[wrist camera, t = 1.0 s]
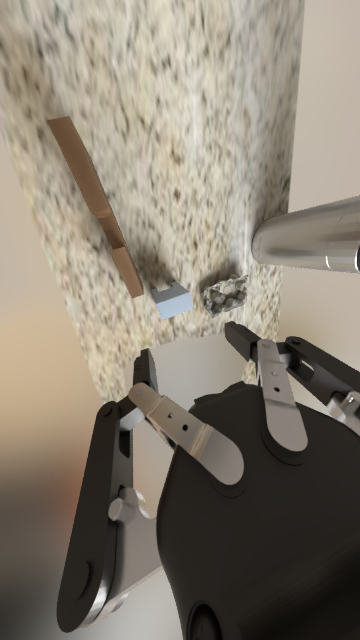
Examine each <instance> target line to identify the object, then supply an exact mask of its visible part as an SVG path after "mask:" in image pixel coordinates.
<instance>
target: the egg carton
mask: <svg viewBox="0 0 360 640" xmlns="http://www.w3.org/2000/svg"><path fill="white" fill-rule="evenodd" d="M247 277H248V275H245V276H244V277H239V276H238V275H236V274H232V275H230V276H229V279H228V280H227V281H224V280H219V281H218V282H217V284H215V285H213V286H211V287H210V286H205V287H204V291H203V292H202V293H201V296H202V298H204V299H205V300H207V302H206V305H205V306H204V307H205V309H206V310H207V311H208V312H209V313H210V315H211V316H212V318H214V317H215V316H217V315H218V314H222V313H223V312H228V311H229V310H232V309H234V308H236V307H240V306H242V305H244V303H245V302H246V300H247V294H246V291H247V289H246V287H245V283H247ZM236 281H237V282H236ZM235 282H236V284H235V287H236V289H238V290H240V293H239V294H238V295H237V299H233V298H228V299H227V300H226V303H225V304H224V305H222V304H220V303H223V302H224V300H225V295H224V294H226V295H227V294H230V292H231V290H232V289H231V287H230V286H226V287H225V288H224V290H223V293H224V294H222V293H220V292H217V291H215V292H213V293H212V295H211V299H212V300H214V301H215V302H217V304H216V305H215V306H214V309H213V310H210V309H211V305H212V301H210V300H209V299H207V298H206V297H205V295H207V294H208V292H209V291H208V289H210V288H212V289H213V290H220V286H221V284H222V283H226V284H229V285H231V284H234V283H235Z"/></svg>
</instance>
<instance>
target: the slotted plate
mask: <svg viewBox="0 0 360 640" xmlns="http://www.w3.org/2000/svg"><path fill="white" fill-rule="evenodd" d="M47 121H48V123H49V125H50V127H51V130H52V132H53V134H54V136H55V138H56V140H57V142H58V144H59V146H60V148H61V151H62V153H63V155H64V157H65V159H66V161H67V163H68V165H69V167H70V169H71V171H72V174H73V176H74V178H75V180H76V182H77V184H78V186H79V188H80V190H81V192H82V195H83V197H84V199H85V201H86V203H87V205H88V207H89V209H90V211H91V213H92V214H94V215H95V216H96V217H97V218H98V219H99V221H100V223H101V225H102V227H103V229H104V232H105V234H106V236H107V238H108V240H109V242H110V245H111V247H112V249H113V250H112V251H110V253H111V255H112V257H113V260H114V262H115V264H116V266H117V268H118V270H119V272H120V274H121V276H122V278H123V281H124V283H125V285H126V287H127V289H128V291H129V293H130V295H131V297H132V298H135V297H137V296H140V295H143V294H144V290H143V284H142V282H141V279H140V277H139V274H138V272H137V270H136V267H135V265H134V262H133V260H132V257H131V255H130V253H129V250H128V248H127V245H126V243H125V240H124V238H123V236H122V233H121V231H120V228H119V226H118V223H117V221H116V218H115V216H114V214H113V211H112V209H111V206H110V204H109V201H108V199H107V197H106V194H105V192H104V189H103V187H102V184H101V182H100V180H99V177H98V175H97V172H96V170H95V167H94V165H93V162H92V160H91V158H90V156H89V154H88V152H87V150H86V148H85V146H84V144H83V142H82V140H81V138H80V136H79V134H78V132H77V130H76V128H75V126H74V124H73V123H72V121H71V119H70V117H69V116H68V117H63V118H58V119H52V120H47Z"/></svg>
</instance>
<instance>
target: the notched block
mask: <svg viewBox="0 0 360 640" xmlns="http://www.w3.org/2000/svg"><path fill="white" fill-rule="evenodd" d="M171 286H172V288H169V289H166V290H164V291H161V292H158V290H157V288H155V289H152V290H151V291H152V294H153V297H154V300H155V303H156V306H157V308H158V311H159V313H160V316H161V318H162V320H164V319H167V318H170V317H172V316H175V315H178V314H180V313H183V312H186V311H188V310H191V309H193V304H192V300H191V296H190V292H189V291H188V290H186V289H185V288H184V287H183V286H181V285H180V284H179V283H177V282H176V281H175V282H172V283H171Z"/></svg>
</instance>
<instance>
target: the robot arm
mask: <svg viewBox="0 0 360 640" xmlns="http://www.w3.org/2000/svg"><path fill="white" fill-rule="evenodd" d="M252 253H253V257H254V258H255V260H256V261H257V262H259V263H261V264H269V265H278V266H288V267H298V268H308V269H318V270H328V271H339V272H350V273H359V274H360V195H359V196H355V197H352V198H347V199H344V200H340V201H336V202H332V203H328V204H324V205H320V206H316V207H312V208H308V209H304V210H300V211H296V212H292V213H287V214H284V215H280V216H276V217H272V218H269V219H267V220H266V221H264V222H263V223H262V224H261V226H260V227H259V228H258V230H257V231H256V233H255V236H254V239H253V243H252ZM225 337H226V339H227V341H228V342H229V343H230V344H231V345H232V346H233V347H234V348H235V349H236V350H237V351H238V352H239V353H240V354H241V355H242V356H243V357H244V358H245V359H246V361H247V362H248V363H250V362H253V361H254V362H255V377H256V385H252V384H245V383H244V382H243V381H240V382H238V383H235V384H233V385H231V386H229V387H228V388H227V389H225V390H224V391H223V392H222V393H218V394H209V395H205V396H202V397H200V398H197V399H194V402H195V404H194V405H193V406H192V407H191V408H190V409H189V411H186V410H185V409H184V408H182V407H181V406H179V405H178V404H176V403H175V402H174V401H172V400H171V399H170V398H168V397H167V396H165V395H163V396H161V395H160V394H159V393H158V385H157V378H156V369H155V363H154V360H153V357H152V355H151V353H150V350H149V348H147V349H144V350H141V356H140V357H137V358H136V360H135V362H134V375H133V387H132V388H131V389H130V391H129V394H128V395H127V396H126V397H125V398H123V399H122V400H120V401H119V402H117V403H116V402H115V401H110V402H107V403H106V404H104V405H103V406H102V407H101V408H100V410H99V411H98V413H97V416H96V421H95V425H94V430H93V435H92V439H91V444H90V449H89V454H88V458H87V463H86V468H85V472H84V477H83V482H82V487H81V492H80V496H79V501H78V505H77V510H76V515H75V519H74V524H73V529H72V534H71V538H70V543H69V548H68V553H67V557H66V562H65V567H64V571H63V576H62V581H61V586H60V590H59V595H58V601H57V622H58V625H59V627H60V629H61V630H62V631H63V632H66V633H68V632H72V631H74V630H76V629H78V628H80V627H81V628H85V627H88V626H90V625H92V624H94V623H96V622H98V621H100V620H102V619H104V618H105V617H107V616H108V615H109V614H110V613H112V612H114V611H116V610H117V609H118V608H119V607H120V606H121V605H122V604H123V602H124V600H125V599H126V597H127V594H128V592H129V591H130V590H132V589H133V588H135V587H136V586H138V585H139V584H140V583H142V582H144V581H145V580H146V579H148V578H150V577H151V576H152V575H154V574H155V573H157V572H158V571H160V570H161V569H163V568H164V571H165V573H166V575H167V578H168V580H169V583H170V585H171V588H172V591H173V595H174V598H175V602H176V605H177V610H178V614H179V619H180V623H181V629H182V634H183V640H360V372H359V371H357V370H355V369H353V368H351V367H350V366H348V365H347V364H345V363H343V362H342V361H340V360H338V359H336V358H335V357H333V356H331V355H330V354H328V353H326V352H325V351H323V350H321V349H320V348H318V347H316V346H314V345H313V344H311V343H309V342H308V341H306V340H304V339H302V338H300V337H294V336H290V337H287V338H286V340H285V342H280V343H275V342H274V341H272V340H269V339H261V338H260V337H259V336H257V335H256V334H255V333H253V332H252V331H250V330H249V329H248V328H246V327H245V326H243V325H240V324H236V323H235V322H234V321H230V322H227V323H225ZM302 360H303V361H305V362H306V363H307V364H309V365H310V366H311V367H312V368H313V369H314V371H313V370H312V369H310V368H309V367H308V366H306V365H305V364H304V363H302ZM287 372H288V373H289V374H291V375H292V376H293V377H294V378H295V379H296V380H297V381H298V382H299V383H301V384H302V385H303V386H304V387H305V388H306V389H307V390H308V391H309V392H311V393H312V394H313V395H314V396H315V397H316V398H317V399H318V400H319V401H321V402H322V403H323V404H324V405H325V406H326V407H327V410H328V412H329V414H330V415H331V416H332V417H330V416H328V415H325V414H323V413H321V412H318V411H316V410H314V409H311V408H309V407H307V406H305V405H302V404H300V403H298V402H295V401H294V397H293V393H292V390H291V386H290V383H289V379H288V375H287ZM143 419H144V420H145V421H146V422H147V423H148V424H149V425H150V426H151V427H152V428H153V429H154V430H155V431H156V432H157V433H158V434H159V436H160V437H161V438H162V439H163V440H164V441H165V443H166V444H167V445H168V446H169V447H170V448H171V449H172V450H173V451H174V454H173V457H172V461H171V464H170V467H169V471H168V474H167V478H166V481H165V484H164V487H163V490H162V494H161V497H160V501H159V505H158V509H157V517H156V518H153V519H151V518H150V517H149V515H148V513H147V510H146V504H145V500H144V497H143V496H142V495H141V494H140V493H139V492H137V491H136V490H134V489H133V427H135V426H136V425H137V424H138V423H140V422H141V421H142V420H143Z"/></svg>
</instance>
